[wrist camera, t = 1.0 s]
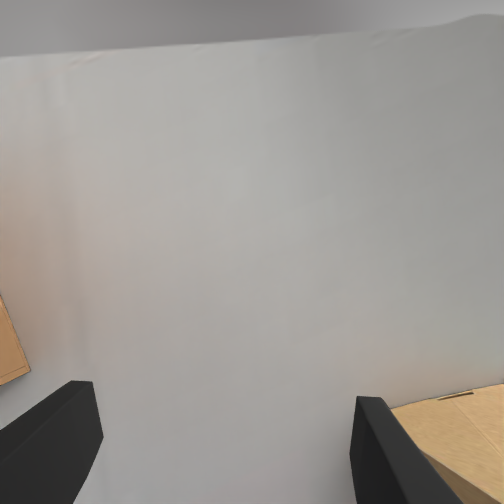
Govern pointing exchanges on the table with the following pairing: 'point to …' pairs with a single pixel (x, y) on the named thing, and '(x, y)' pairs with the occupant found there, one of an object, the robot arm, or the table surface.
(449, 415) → the sandwich container
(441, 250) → the table surface
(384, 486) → the robot arm
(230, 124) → the table surface
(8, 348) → the carton
